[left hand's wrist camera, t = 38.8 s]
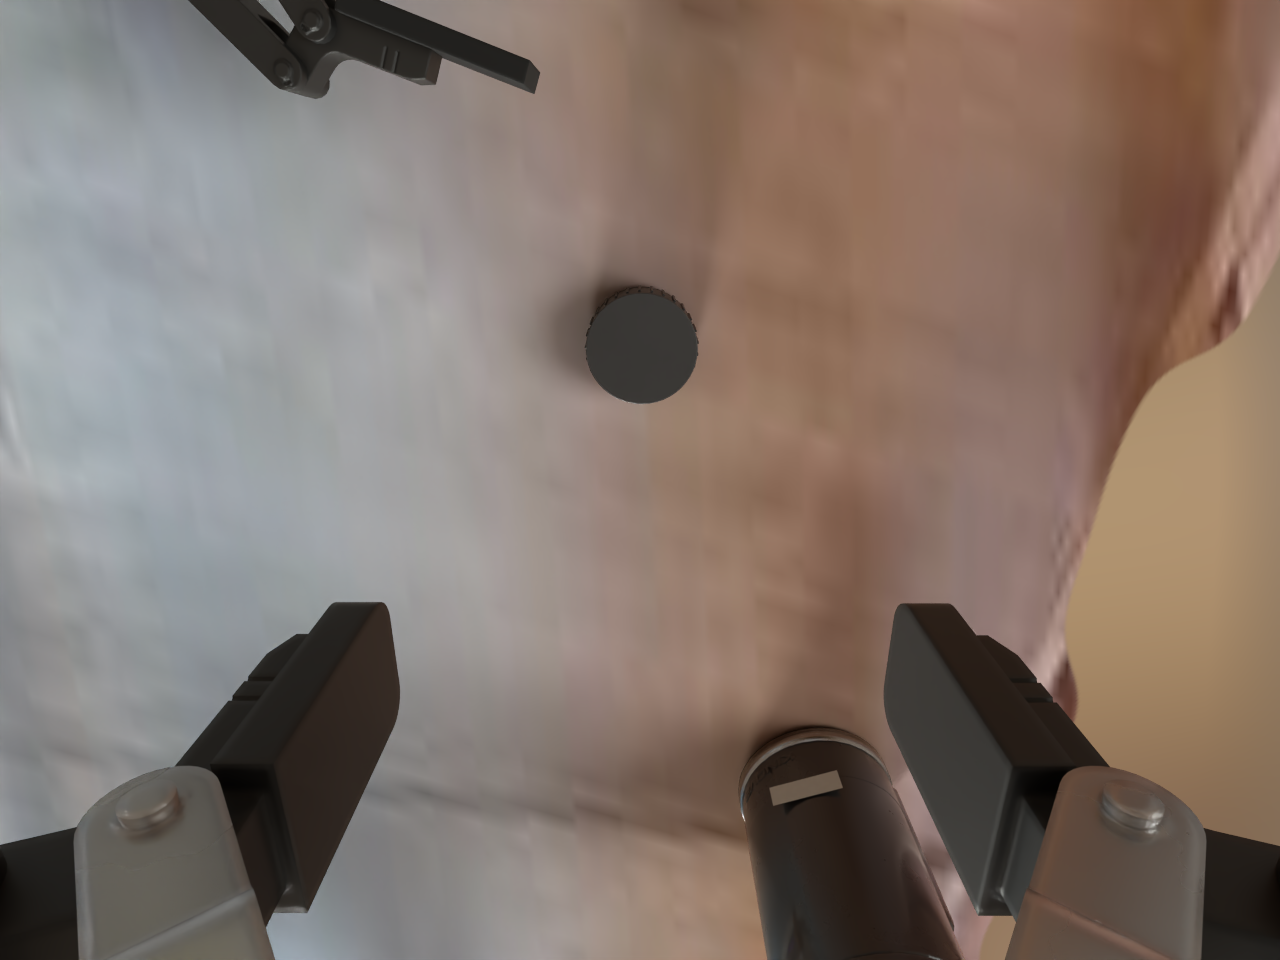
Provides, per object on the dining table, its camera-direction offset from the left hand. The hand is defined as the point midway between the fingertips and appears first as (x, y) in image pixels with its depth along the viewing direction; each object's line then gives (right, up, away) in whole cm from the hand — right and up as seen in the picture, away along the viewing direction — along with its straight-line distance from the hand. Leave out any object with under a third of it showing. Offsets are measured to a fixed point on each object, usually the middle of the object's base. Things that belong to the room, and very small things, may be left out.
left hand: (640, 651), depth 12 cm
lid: (0, +9, +23) cm, 25 cm away
